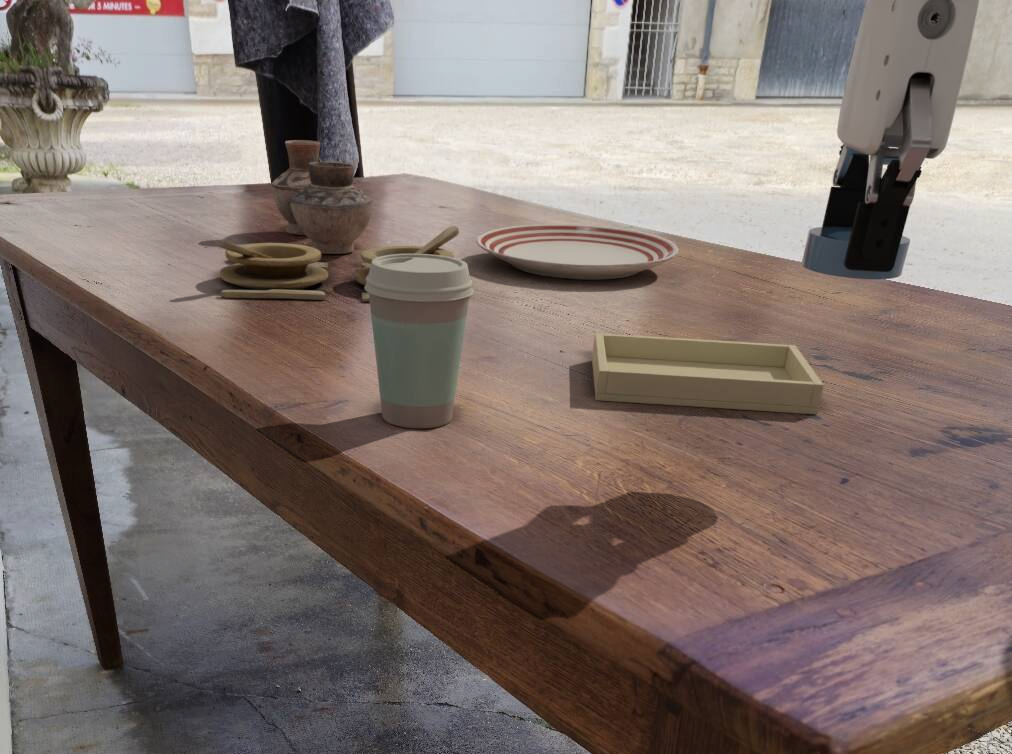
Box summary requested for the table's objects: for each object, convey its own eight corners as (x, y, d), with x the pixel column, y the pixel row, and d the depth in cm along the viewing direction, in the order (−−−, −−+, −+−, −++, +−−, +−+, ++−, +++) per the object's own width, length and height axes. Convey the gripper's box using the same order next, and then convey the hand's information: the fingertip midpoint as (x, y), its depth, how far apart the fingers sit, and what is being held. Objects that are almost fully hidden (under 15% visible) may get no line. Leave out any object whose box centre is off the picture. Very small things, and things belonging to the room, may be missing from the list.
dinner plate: (630, 297, 128) (634, 268, 127) (439, 267, 139) (439, 240, 137) (701, 264, 148) (706, 239, 146) (529, 240, 159) (531, 216, 157)
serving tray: (789, 372, 103) (795, 345, 102) (816, 414, 92) (824, 384, 91) (591, 359, 104) (594, 332, 103) (595, 400, 93) (599, 370, 92)
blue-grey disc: (885, 262, 76) (894, 229, 75) (913, 282, 71) (923, 246, 69) (792, 257, 76) (799, 224, 75) (813, 276, 71) (821, 240, 70)
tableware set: (454, 270, 138) (456, 220, 135) (469, 304, 122) (472, 248, 119) (227, 265, 135) (223, 214, 132) (212, 299, 119) (207, 242, 116)
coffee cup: (432, 397, 92) (436, 249, 85) (487, 425, 86) (496, 268, 79) (347, 410, 88) (344, 256, 81) (399, 440, 82) (400, 277, 75)
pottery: (331, 226, 162) (329, 138, 155) (384, 257, 144) (384, 158, 137) (260, 228, 159) (255, 138, 152) (305, 260, 140) (300, 158, 133)
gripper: (1053, -67, 56) (947, 289, 66) (947, -50, 70) (873, 241, 80) (912, -74, 56) (828, 281, 66) (835, -56, 70) (776, 235, 80)
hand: (853, 257), depth 73 cm, fingers closed on blue-grey disc, 6 cm apart
